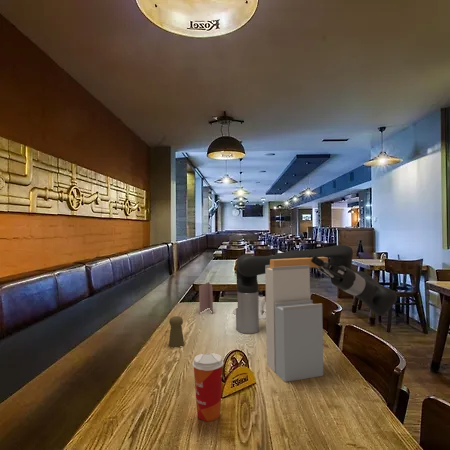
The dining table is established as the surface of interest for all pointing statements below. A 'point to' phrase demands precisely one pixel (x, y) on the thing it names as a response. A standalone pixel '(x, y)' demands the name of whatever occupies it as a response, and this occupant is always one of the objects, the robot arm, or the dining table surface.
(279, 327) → the grey box
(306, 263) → the bar
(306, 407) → the dining table surface
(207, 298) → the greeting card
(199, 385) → the paper cup
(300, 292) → the tall pale grey pillar
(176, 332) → the cork
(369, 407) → the dining table surface
